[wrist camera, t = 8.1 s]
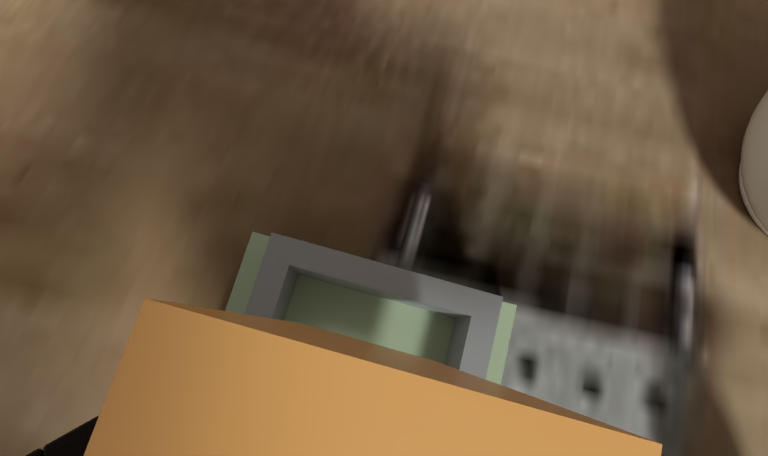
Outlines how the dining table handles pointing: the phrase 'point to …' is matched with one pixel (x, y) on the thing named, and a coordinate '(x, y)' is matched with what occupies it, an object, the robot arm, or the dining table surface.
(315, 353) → the tan tall rectangular block
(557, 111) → the dining table surface
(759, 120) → the lidded bowl
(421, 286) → the pale green pegged block
